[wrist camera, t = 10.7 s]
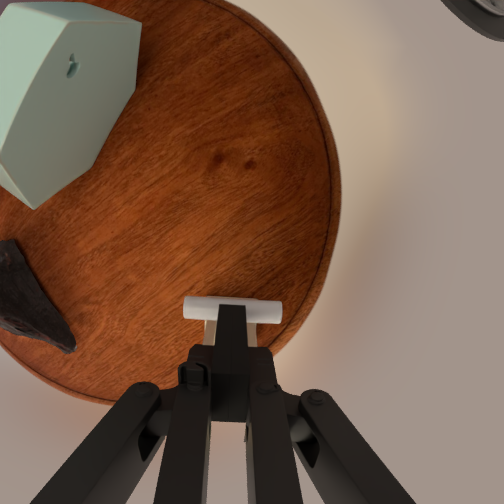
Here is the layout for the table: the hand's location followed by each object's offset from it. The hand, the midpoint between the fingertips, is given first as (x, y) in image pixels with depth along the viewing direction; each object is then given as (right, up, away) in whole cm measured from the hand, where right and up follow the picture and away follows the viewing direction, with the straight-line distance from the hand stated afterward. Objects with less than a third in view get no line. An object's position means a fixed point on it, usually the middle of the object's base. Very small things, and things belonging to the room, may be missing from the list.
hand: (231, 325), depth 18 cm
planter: (-17, +20, +13) cm, 30 cm away
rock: (-27, -1, +18) cm, 33 cm away
